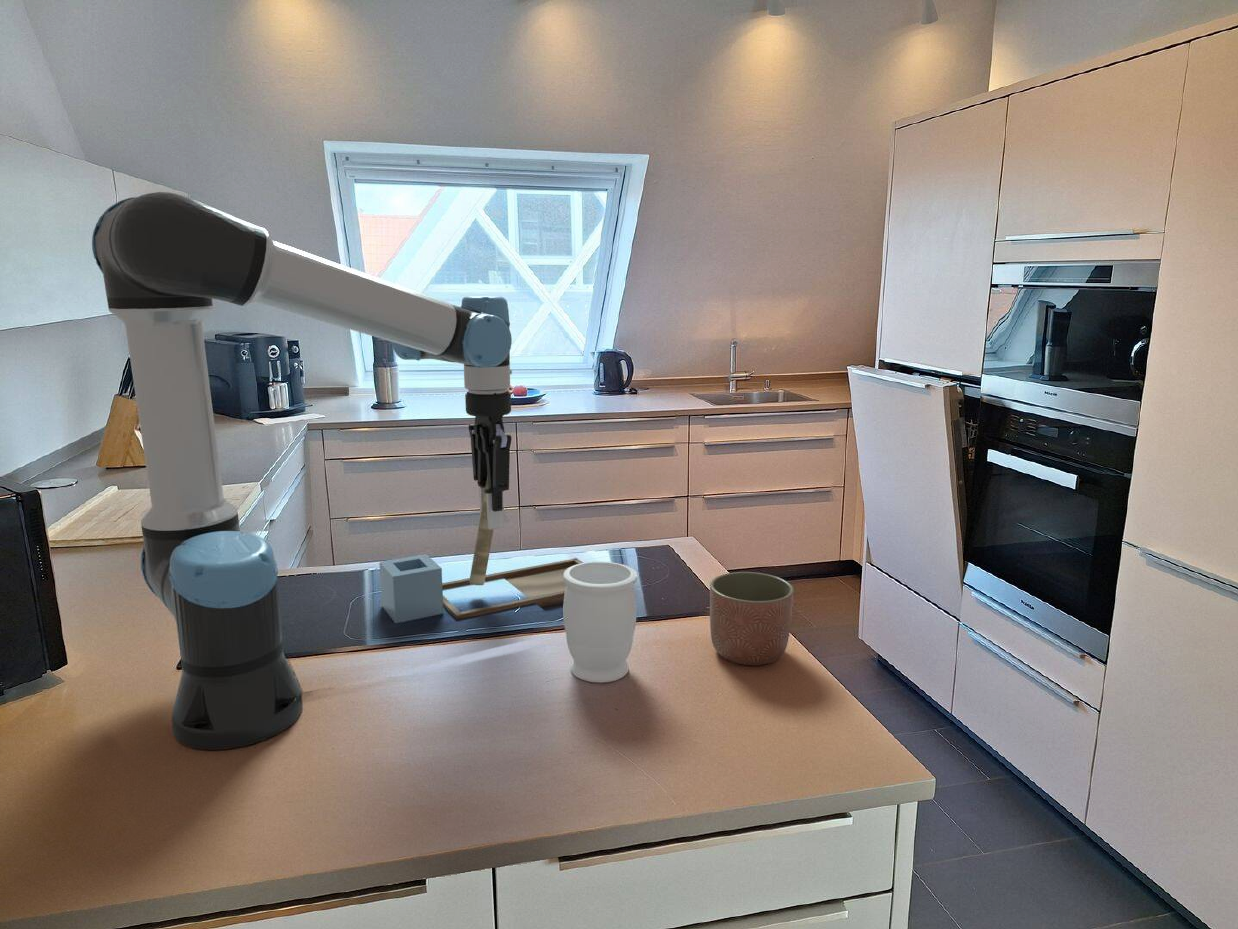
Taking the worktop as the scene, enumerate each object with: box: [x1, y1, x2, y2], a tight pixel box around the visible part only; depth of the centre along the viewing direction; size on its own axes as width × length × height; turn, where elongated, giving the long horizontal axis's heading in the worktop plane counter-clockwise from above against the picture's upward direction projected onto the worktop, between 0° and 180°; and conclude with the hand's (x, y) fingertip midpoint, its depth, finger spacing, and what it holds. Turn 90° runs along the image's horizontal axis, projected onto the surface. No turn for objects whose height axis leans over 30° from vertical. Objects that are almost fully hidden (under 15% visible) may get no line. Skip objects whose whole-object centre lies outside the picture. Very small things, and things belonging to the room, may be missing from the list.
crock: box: [379, 553, 445, 624], centre depth 136 cm, size 8×8×9 cm
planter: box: [709, 571, 795, 666], centre depth 124 cm, size 12×12×11 cm
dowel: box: [469, 475, 495, 586], centre depth 141 cm, size 3×7×20 cm, turn 121°
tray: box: [442, 557, 584, 621], centre depth 147 cm, size 15×30×2 cm, turn 121°
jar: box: [562, 560, 638, 684], centre depth 117 cm, size 11×10×15 cm
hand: (492, 525), depth 142 cm, fingers closed on dowel, 2 cm apart
